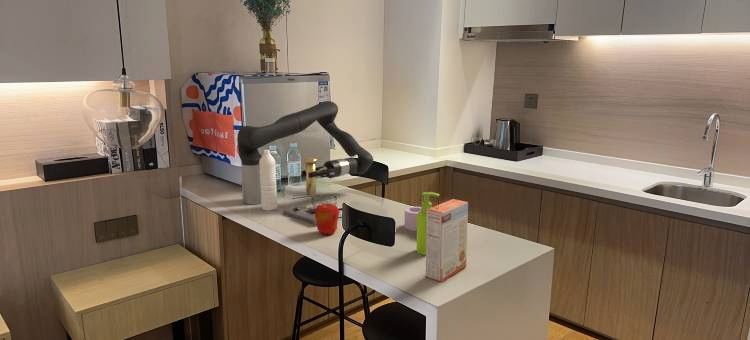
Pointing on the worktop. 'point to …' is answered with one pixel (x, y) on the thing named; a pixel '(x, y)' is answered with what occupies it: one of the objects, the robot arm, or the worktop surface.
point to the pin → (310, 181)
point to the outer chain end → (308, 214)
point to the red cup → (327, 218)
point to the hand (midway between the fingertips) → (305, 174)
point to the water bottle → (268, 181)
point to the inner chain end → (293, 213)
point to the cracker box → (446, 239)
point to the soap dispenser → (423, 222)
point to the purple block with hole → (411, 218)
